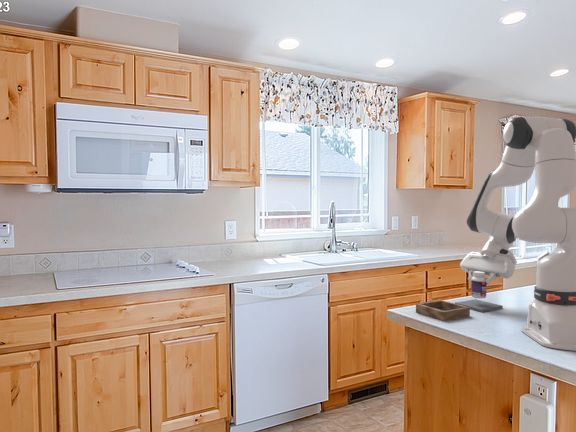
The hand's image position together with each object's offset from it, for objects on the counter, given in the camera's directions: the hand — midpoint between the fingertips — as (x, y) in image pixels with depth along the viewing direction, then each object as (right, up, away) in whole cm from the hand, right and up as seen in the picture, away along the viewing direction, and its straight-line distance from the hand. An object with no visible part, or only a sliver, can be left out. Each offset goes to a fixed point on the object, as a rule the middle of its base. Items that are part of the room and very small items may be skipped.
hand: (477, 281), depth 167 cm
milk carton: (+43, -9, +28) cm, 52 cm away
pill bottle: (+1, -6, +1) cm, 6 cm away
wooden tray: (-17, -10, -10) cm, 22 cm away
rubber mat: (0, -10, +1) cm, 10 cm away
